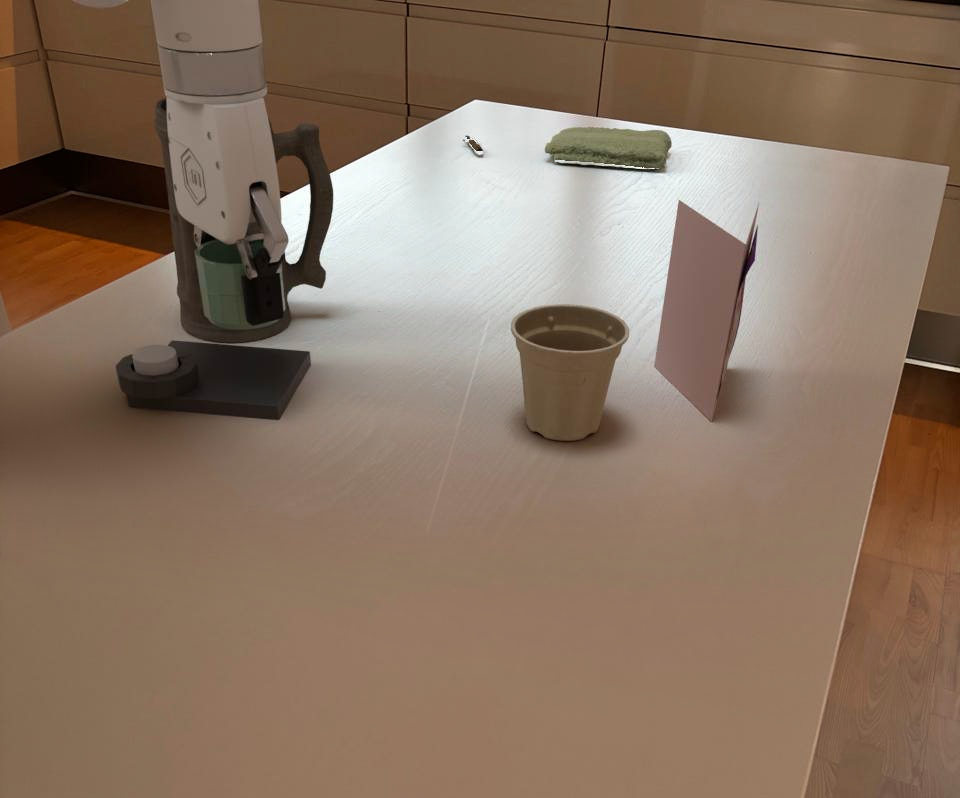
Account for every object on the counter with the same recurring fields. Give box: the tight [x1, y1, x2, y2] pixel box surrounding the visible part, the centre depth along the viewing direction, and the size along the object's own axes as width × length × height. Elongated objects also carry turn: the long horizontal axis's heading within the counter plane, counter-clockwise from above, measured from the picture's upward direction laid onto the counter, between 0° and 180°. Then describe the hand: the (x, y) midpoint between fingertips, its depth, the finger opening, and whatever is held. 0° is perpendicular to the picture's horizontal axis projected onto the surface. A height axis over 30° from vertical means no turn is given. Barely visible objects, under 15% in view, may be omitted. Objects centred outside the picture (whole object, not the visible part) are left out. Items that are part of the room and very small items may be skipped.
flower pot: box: [510, 303, 630, 442], centre depth 84 cm, size 9×9×9 cm
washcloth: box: [544, 126, 673, 169], centre depth 151 cm, size 13×18×3 cm
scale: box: [115, 339, 312, 421], centre depth 89 cm, size 14×12×3 cm
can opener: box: [462, 135, 484, 152], centre depth 153 cm, size 9×2×1 cm, turn 8°
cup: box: [195, 239, 285, 330], centre depth 86 cm, size 7×7×6 cm
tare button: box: [131, 344, 179, 376], centre depth 86 cm, size 4×4×1 cm
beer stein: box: [154, 97, 334, 343], centre depth 96 cm, size 15×11×20 cm
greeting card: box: [653, 199, 760, 422], centre depth 88 cm, size 11×7×15 cm, turn 163°
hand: (243, 304), depth 87 cm, fingers closed on cup, 6 cm apart
